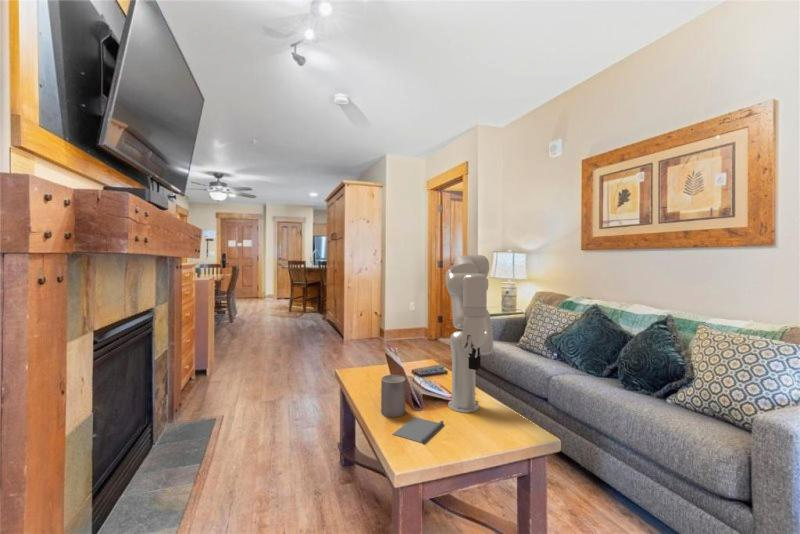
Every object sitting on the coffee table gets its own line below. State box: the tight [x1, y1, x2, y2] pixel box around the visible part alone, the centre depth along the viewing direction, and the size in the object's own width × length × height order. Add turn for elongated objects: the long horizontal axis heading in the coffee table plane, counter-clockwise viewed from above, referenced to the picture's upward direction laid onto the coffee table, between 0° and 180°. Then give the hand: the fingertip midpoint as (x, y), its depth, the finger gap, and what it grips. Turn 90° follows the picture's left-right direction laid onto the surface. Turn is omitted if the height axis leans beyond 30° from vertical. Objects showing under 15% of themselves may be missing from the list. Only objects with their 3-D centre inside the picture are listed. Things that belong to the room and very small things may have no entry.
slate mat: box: [392, 416, 445, 445], centre depth 126 cm, size 16×12×2 cm
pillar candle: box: [380, 374, 406, 418], centre depth 141 cm, size 10×10×15 cm
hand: (474, 368), depth 116 cm, fingers closed
